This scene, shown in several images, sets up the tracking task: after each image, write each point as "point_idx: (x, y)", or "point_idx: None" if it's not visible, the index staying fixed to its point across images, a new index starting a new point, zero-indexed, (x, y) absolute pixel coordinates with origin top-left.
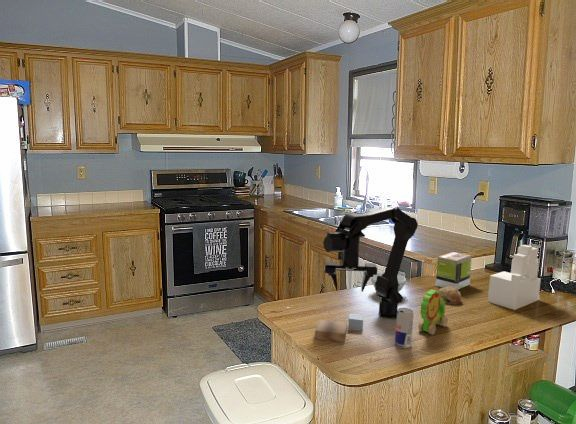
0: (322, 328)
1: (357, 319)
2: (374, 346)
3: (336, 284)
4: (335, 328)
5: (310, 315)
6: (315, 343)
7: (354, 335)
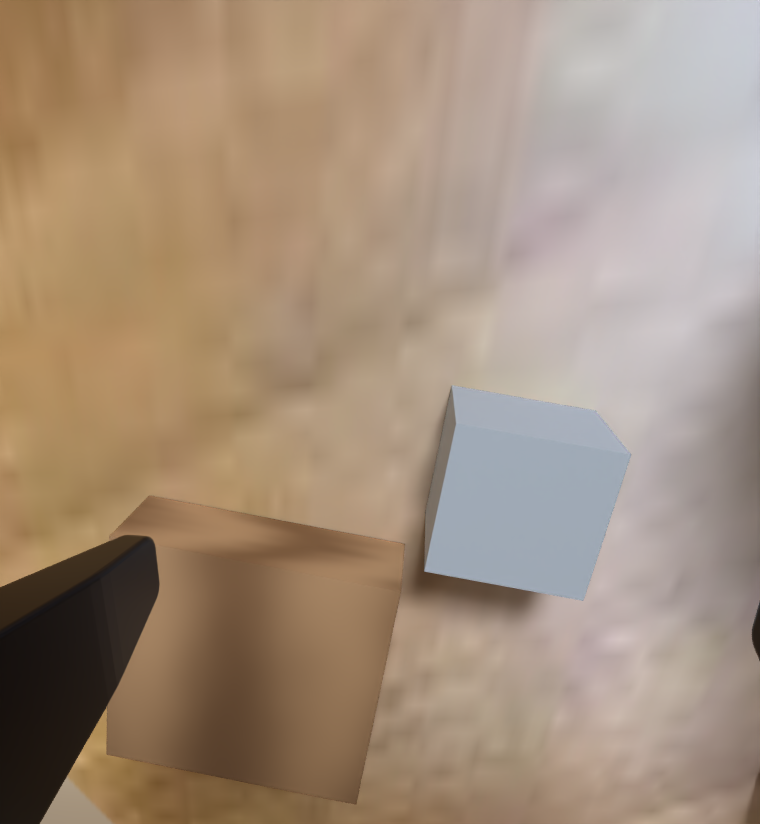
0: (162, 718)
1: (521, 586)
2: (583, 789)
3: (31, 801)
4: (277, 715)
5: (29, 187)
6: None
7: (462, 631)
